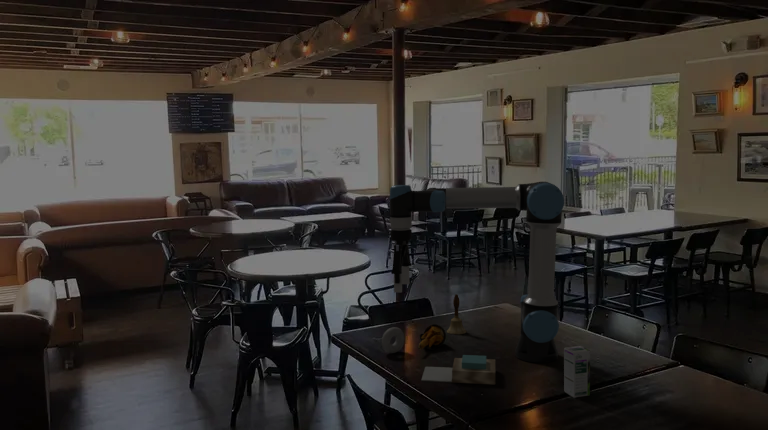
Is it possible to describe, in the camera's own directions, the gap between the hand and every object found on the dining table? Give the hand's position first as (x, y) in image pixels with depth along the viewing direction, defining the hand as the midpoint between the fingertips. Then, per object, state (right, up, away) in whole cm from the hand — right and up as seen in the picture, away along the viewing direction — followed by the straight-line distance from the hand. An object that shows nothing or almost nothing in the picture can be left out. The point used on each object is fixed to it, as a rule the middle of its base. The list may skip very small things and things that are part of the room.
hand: (402, 288), depth 225 cm
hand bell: (+24, -23, +41) cm, 53 cm away
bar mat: (+12, -28, -10) cm, 32 cm away
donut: (-3, -26, +14) cm, 30 cm away
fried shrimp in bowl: (+11, -26, +19) cm, 34 cm away
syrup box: (+54, -30, -28) cm, 67 cm away
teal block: (+24, -24, -12) cm, 36 cm away
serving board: (+24, -28, -12) cm, 39 cm away
